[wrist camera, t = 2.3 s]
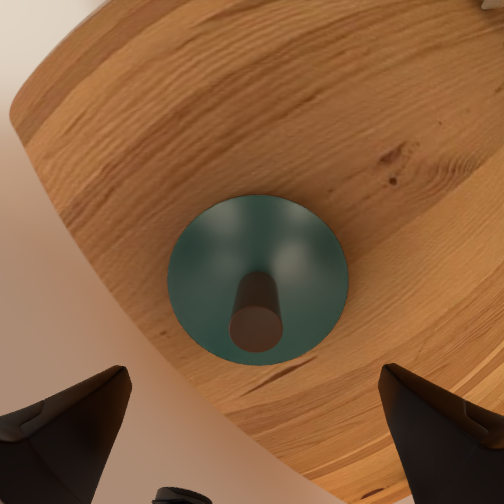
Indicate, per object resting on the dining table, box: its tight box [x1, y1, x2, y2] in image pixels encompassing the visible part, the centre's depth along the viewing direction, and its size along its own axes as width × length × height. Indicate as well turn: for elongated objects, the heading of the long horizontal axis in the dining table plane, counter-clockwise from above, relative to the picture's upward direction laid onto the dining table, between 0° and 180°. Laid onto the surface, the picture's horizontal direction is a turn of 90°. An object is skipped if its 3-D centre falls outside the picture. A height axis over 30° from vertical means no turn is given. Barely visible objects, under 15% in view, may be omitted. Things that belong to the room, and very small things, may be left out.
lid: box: [167, 194, 349, 366], centre depth 15 cm, size 11×11×6 cm
